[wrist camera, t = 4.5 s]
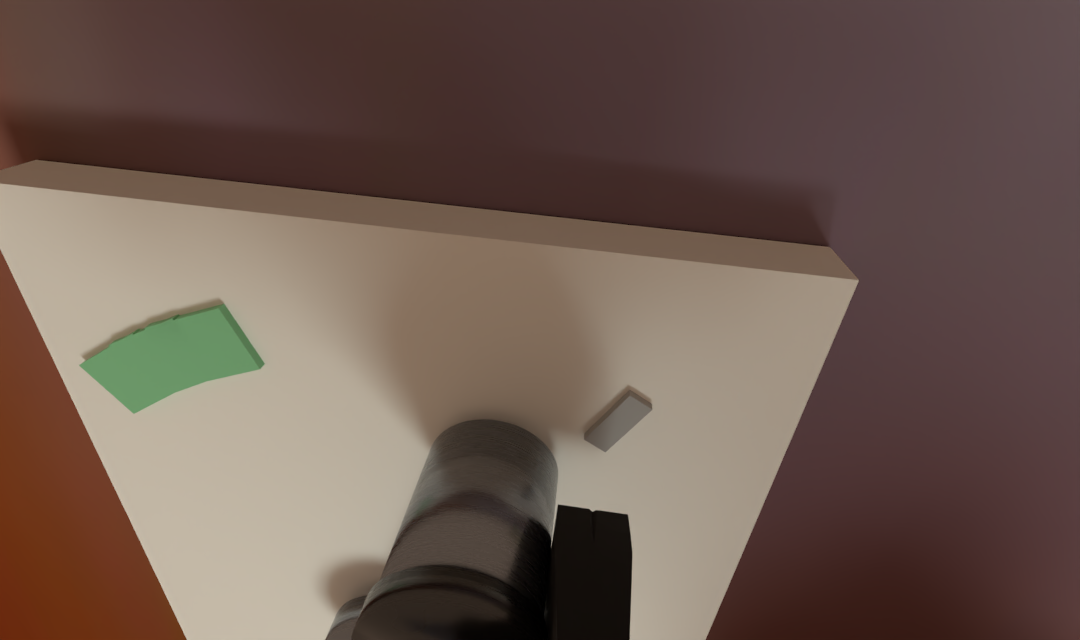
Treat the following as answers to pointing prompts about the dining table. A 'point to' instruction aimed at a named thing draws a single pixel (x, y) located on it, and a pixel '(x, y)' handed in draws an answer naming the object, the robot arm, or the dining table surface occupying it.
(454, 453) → the dark grey elongated piece
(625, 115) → the dining table surface
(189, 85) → the dining table surface
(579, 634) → the robot arm
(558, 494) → the dial board
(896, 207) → the dining table surface
